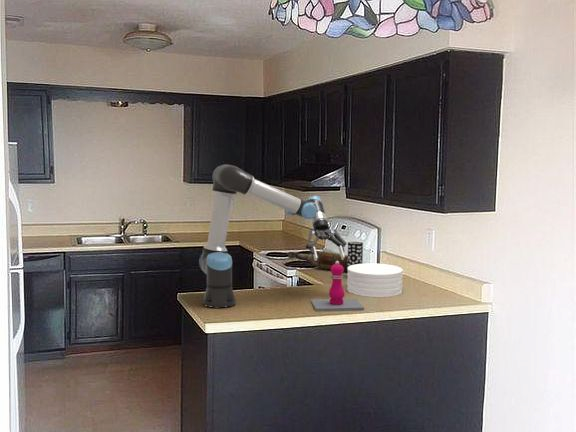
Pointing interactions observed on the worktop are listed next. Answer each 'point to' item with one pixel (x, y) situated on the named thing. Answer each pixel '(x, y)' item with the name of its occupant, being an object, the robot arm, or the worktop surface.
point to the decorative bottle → (322, 259)
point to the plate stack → (374, 280)
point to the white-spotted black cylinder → (355, 253)
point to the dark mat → (326, 306)
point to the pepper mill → (336, 285)
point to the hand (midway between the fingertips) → (329, 258)
